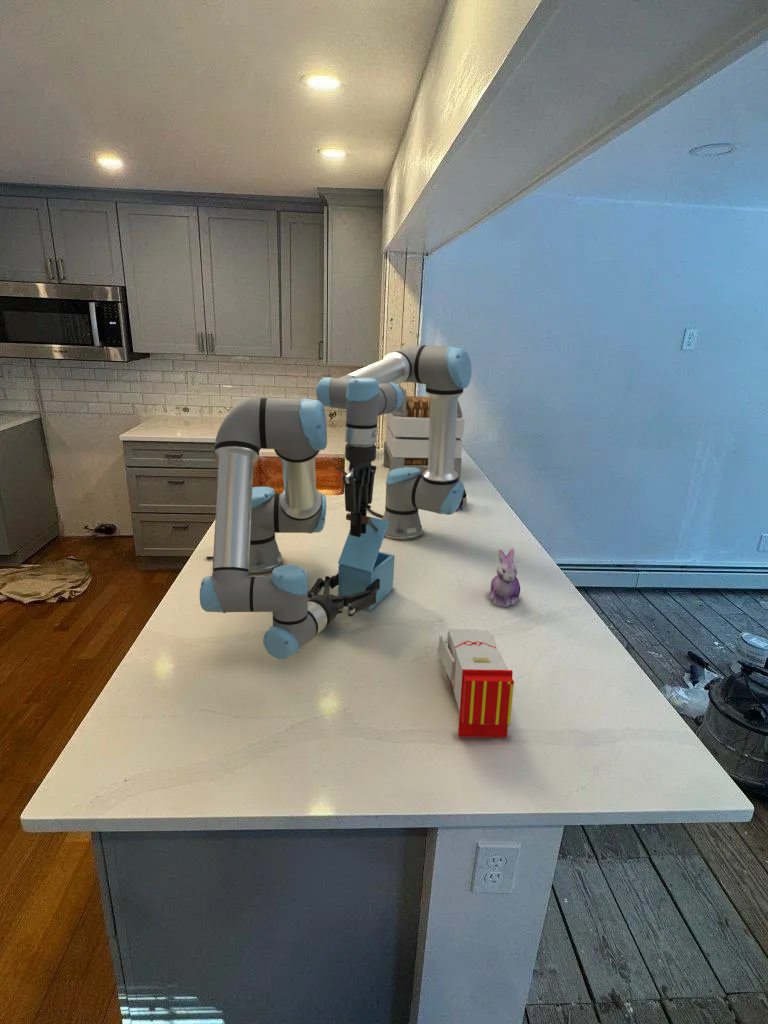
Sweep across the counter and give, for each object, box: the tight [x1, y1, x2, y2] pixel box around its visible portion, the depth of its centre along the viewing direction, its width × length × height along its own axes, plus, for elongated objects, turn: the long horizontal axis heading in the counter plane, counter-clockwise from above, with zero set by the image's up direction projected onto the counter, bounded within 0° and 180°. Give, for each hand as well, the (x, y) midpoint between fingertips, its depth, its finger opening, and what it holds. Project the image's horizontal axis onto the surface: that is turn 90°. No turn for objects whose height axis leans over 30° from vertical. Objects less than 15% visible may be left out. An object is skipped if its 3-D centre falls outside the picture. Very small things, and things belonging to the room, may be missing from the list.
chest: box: [337, 550, 396, 611], centre depth 155 cm, size 14×10×11 cm
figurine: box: [489, 547, 521, 608], centre depth 154 cm, size 9×10×15 cm
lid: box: [337, 512, 389, 573], centre depth 145 cm, size 14×10×9 cm
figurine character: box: [458, 488, 468, 511], centre depth 230 cm, size 7×8×15 cm
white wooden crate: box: [383, 384, 465, 482], centre depth 268 cm, size 34×33×41 cm
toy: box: [437, 628, 515, 738], centre depth 117 cm, size 12×13×30 cm
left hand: (361, 578), depth 152 cm, fingers closed on chest, 10 cm apart
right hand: (358, 533), depth 145 cm, fingers closed on lid, 2 cm apart
